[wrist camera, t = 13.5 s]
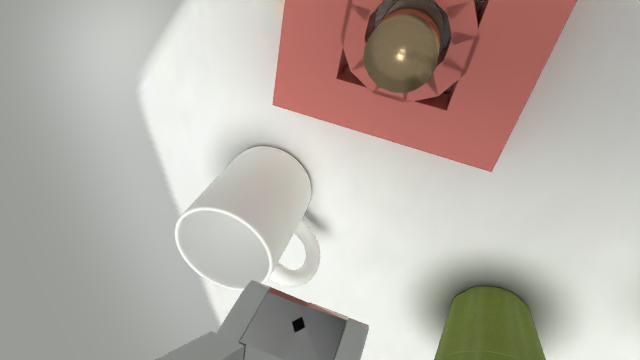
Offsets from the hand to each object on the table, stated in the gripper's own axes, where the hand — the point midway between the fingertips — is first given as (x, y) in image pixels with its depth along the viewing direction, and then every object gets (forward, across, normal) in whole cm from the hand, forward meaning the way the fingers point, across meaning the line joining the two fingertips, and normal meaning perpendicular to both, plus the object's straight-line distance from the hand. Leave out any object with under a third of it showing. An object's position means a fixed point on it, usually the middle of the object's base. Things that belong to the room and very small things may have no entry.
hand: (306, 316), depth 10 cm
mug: (+25, +8, +18) cm, 32 cm away
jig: (+25, +1, 0) cm, 25 cm away
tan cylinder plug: (+25, +1, 0) cm, 25 cm away
